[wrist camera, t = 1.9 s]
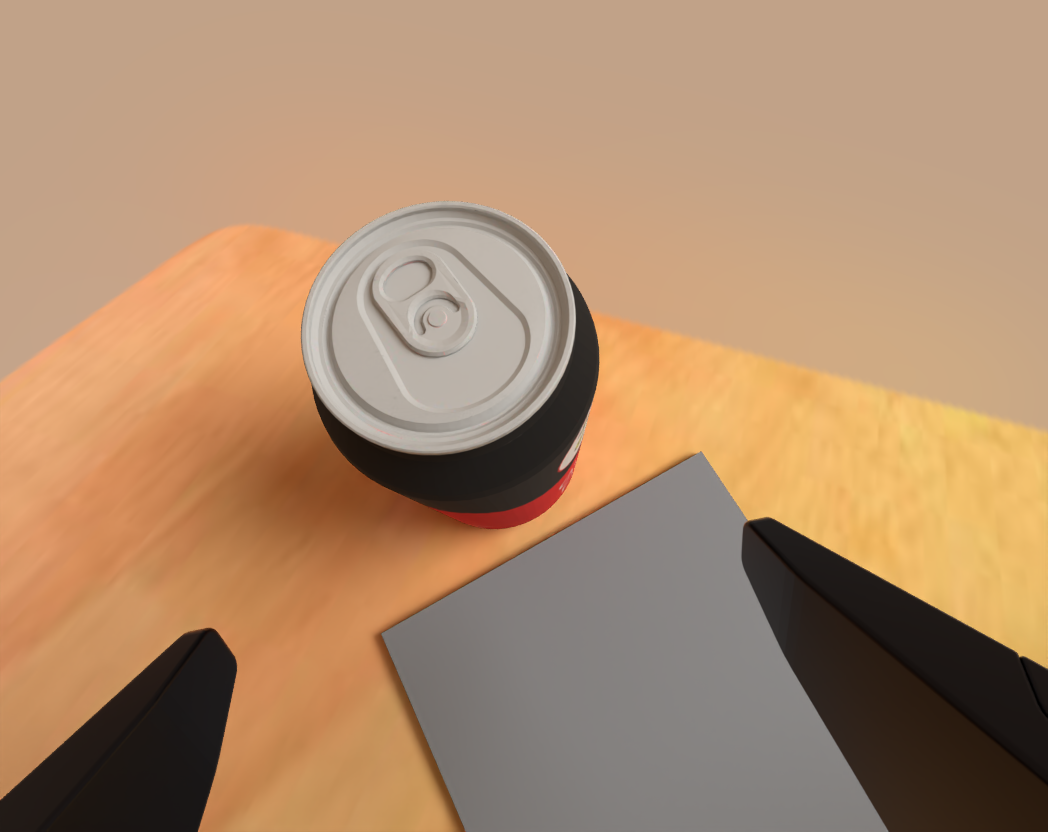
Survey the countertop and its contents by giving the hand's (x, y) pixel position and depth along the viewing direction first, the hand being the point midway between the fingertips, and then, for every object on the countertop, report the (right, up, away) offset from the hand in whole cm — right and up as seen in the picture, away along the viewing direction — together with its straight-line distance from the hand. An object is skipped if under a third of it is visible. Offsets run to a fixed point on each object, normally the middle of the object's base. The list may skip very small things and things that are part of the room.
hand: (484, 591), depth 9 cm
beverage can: (0, +1, +13) cm, 13 cm away
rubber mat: (+6, -10, +9) cm, 15 cm away
